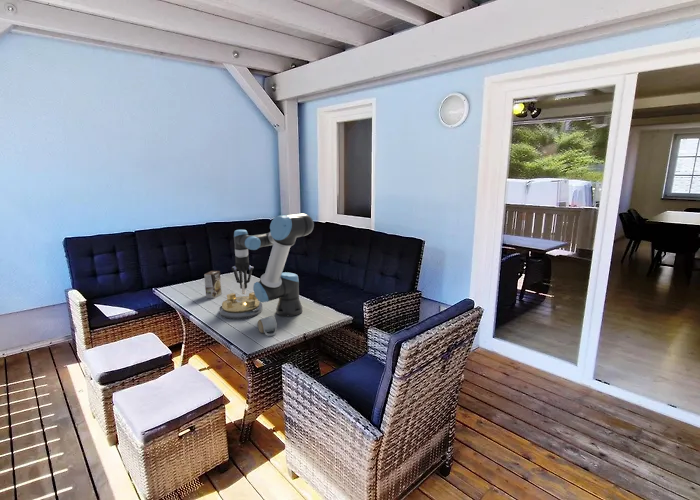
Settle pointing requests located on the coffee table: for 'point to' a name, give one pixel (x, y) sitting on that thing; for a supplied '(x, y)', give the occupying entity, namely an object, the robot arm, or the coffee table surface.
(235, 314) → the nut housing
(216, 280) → the printed cardboard box
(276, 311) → the robot arm
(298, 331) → the coffee table surface
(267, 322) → the ceramic mug
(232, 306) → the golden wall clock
